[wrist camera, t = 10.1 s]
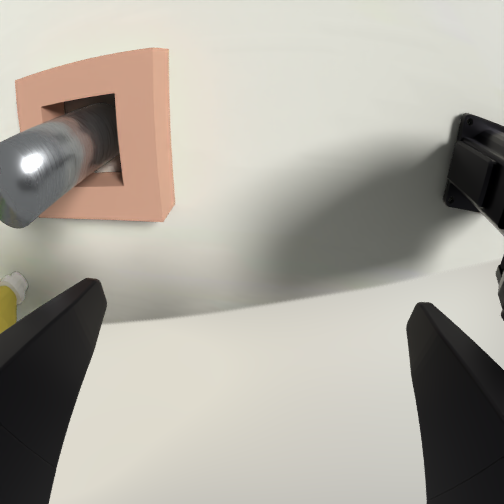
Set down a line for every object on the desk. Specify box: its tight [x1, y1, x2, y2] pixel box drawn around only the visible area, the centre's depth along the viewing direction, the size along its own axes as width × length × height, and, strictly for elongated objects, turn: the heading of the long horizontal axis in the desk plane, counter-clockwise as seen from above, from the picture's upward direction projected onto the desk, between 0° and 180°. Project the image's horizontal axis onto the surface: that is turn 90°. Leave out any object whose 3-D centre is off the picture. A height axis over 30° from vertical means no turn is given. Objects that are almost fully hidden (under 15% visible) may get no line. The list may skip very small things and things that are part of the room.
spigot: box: [0, 103, 120, 228], centre depth 14 cm, size 4×4×9 cm
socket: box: [15, 48, 175, 222], centre depth 16 cm, size 10×10×2 cm
